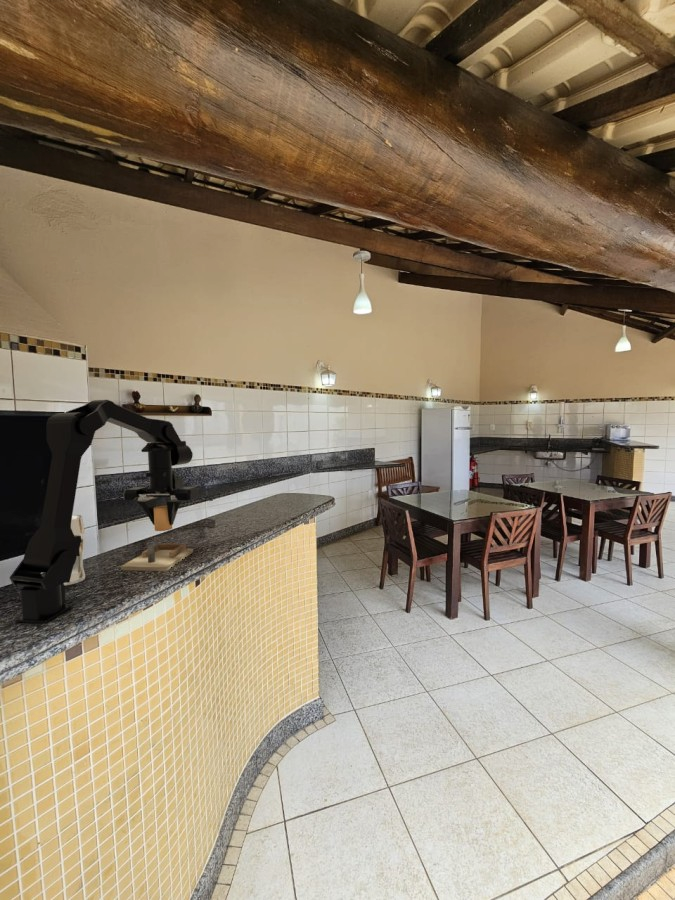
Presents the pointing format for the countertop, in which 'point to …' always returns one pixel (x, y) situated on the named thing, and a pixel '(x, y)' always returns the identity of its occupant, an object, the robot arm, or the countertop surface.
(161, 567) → the hook board
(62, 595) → the robot arm
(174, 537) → the countertop surface
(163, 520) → the orange rounded capsule
